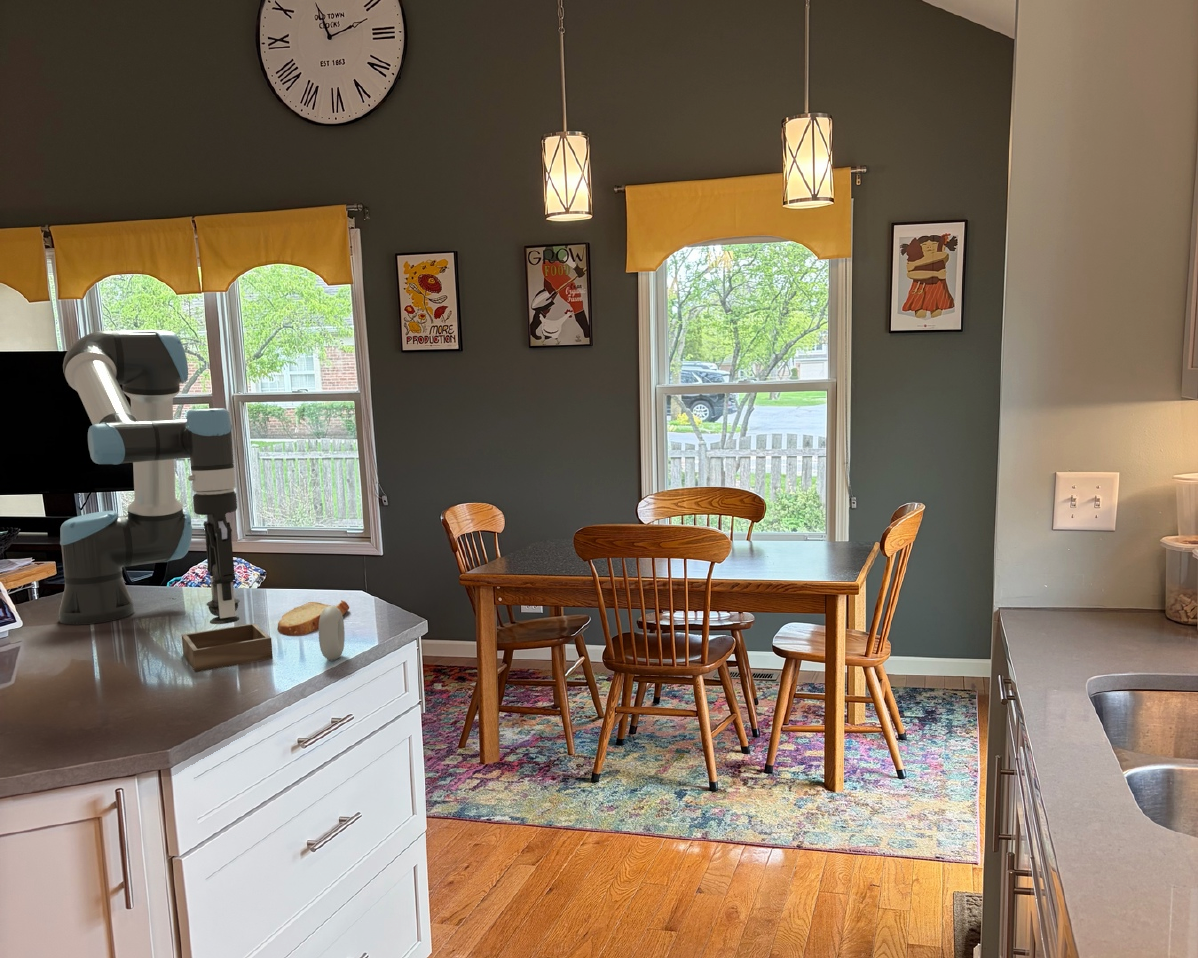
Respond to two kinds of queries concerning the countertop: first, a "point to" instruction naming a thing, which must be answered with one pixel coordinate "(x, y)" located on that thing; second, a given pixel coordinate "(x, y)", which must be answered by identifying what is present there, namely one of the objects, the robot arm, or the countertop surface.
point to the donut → (331, 633)
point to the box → (226, 647)
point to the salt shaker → (214, 604)
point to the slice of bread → (305, 618)
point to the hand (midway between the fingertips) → (224, 613)
